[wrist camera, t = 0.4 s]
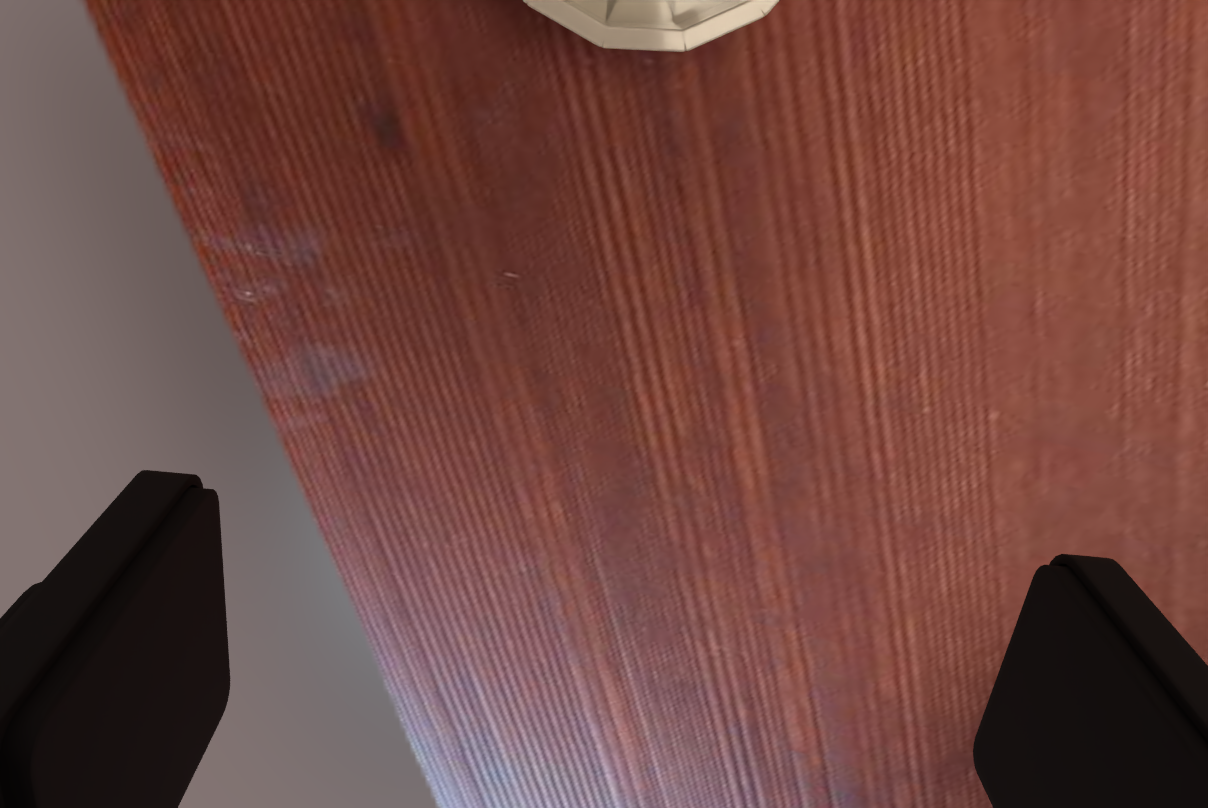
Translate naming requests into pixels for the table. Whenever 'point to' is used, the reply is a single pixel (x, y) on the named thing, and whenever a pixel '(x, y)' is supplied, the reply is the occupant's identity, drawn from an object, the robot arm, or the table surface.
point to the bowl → (652, 20)
